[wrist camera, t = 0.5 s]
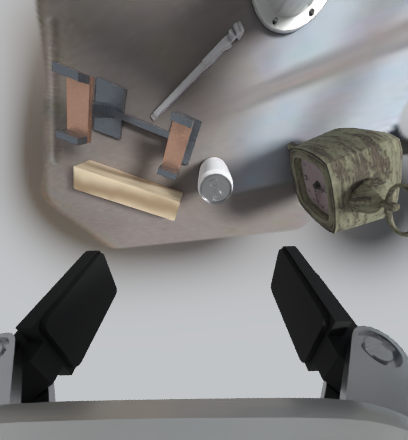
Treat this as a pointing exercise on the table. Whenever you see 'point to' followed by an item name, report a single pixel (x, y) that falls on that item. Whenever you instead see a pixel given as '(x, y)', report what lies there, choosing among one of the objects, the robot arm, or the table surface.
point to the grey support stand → (119, 118)
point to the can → (214, 181)
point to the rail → (126, 189)
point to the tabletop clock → (348, 177)
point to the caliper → (201, 67)
